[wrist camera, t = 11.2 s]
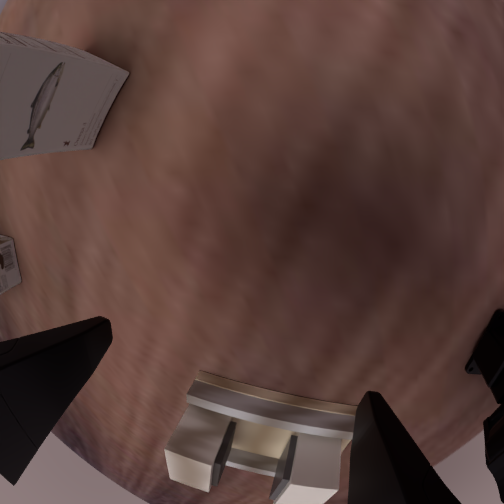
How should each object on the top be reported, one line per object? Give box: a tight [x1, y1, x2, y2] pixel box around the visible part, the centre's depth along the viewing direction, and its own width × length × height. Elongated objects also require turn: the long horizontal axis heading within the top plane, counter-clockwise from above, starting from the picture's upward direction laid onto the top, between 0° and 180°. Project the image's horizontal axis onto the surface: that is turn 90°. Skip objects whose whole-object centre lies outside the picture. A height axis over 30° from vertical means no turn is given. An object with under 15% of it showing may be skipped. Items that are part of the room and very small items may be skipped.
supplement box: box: [0, 32, 129, 160], centre depth 13 cm, size 7×7×13 cm
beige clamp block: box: [164, 371, 358, 492], centre depth 22 cm, size 16×12×8 cm
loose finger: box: [269, 432, 341, 504], centre depth 21 cm, size 5×7×7 cm, turn 171°
